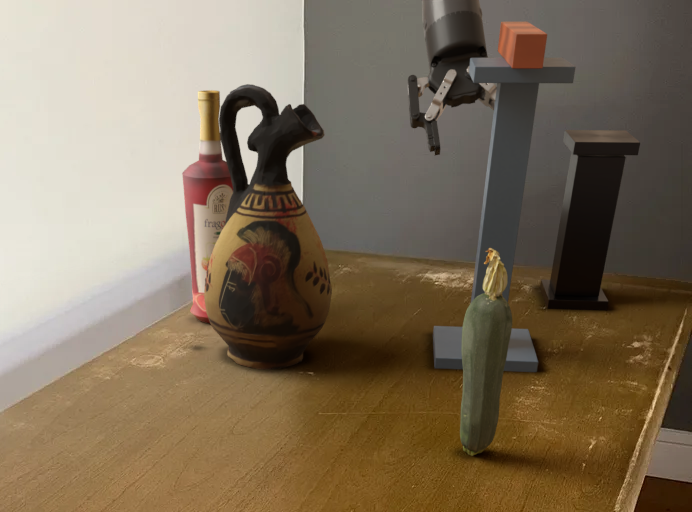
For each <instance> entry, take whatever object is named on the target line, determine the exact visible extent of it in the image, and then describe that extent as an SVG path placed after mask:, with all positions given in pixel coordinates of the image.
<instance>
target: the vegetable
mask: <svg viewBox="0 0 692 512" xmlns="http://www.w3.org/2000/svg"><path fill="white" fill-rule="evenodd" d="M485 252H489V253H488V256H487V257H486V262H485V263H484V264H487V263H488V262H489V261H490V263H489V265H488V268H487V270H486V275H485V278H484V281H483V290H484V292H485V293H483V294H481V295H479V296H477V297H476V298H475V299H474V300H473V301H472V302H471V301H470V304H469V305H468V306H467V309H466V311H465V314H464V318H463V321H462V327H463V328H462V349H461V353H462V364H463V369H462V372H463V373H462V395H461V404H460V422H459V423H460V425H459V438H460V443H461V445H462V450H463V452H464V453H467V455H469V456H470V457H474V456H475V455H477V454H482V453H483V452H484V451H485V450H486V449H487V448H488V447H489V446H490V445H491V444H492V442H493V440H494V438H495V435H496V431H497V427H498V423H499V417H500V404H501V403H500V402H501V401H500V400H501V391H502V383H503V376H504V372H505V371H504V366H505V362H506V358H507V352H508V345H509V341H510V336H511V330H512V329H513V314H512V309H511V307H510V304H509V301H508V302H507V301H506V300H505V299H504V298H503V296H502V292H503V291H504V290H505V288H506V286H507V272H506V269H505V268H504V264H503V263H502V262H501V261H500V257H499V255H500V254H499V253H498V252H497V251H496V250H494V249H492V248H489V249H488V251H485ZM489 258H490V260H489Z"/></svg>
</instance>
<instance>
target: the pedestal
mask: <svg viewBox="0 0 692 512" xmlns="http://www.w3.org/2000/svg"><path fill="white" fill-rule="evenodd" d="M563 133H564V134H563V139H562V142H563V144H565V146H566V147H567V149H568V150H569V151H570V157H569V164H568V172H567V177H566V182H565V187H564V196H563V200H562V207H561V212H560V219H559V223H558V224H559V225H558V231H557V237H556V243H555V249H554V256H553V260H552V261H553V262H552V267H551V273H550V279H543V278H542V279H540V282H539V283H540V285H539V290H540V293H541V296H542V298H543V301H544V304H545V307H546V309H548V310H570V311H572V310H573V311H603V312H604V311H605V312H607V311H608V306H609V300H608V298H607V296H606V294H605V292H604V291H603V289H602V282H603V276H604V272H605V266H606V261H607V256H608V251H609V246H610V240H611V237H612V230H613V225H614V220H615V216H616V210H617V204H618V198H619V196H620V195H619V194H620V189H621V184H622V180H623V174H624V170H625V165H626V164H625V163H626V158H627V157H626V156H638V155H639V153H640V152H639V151H640V146H641V142H640V141H639V140H638V139H637V138H635V137H634V136H633V135H632V134H631V133H629V132H628V130H625V129H624V130H623V129H621V130H617V129H615V130H613V129H612V130H611V129H565V130H564V132H563Z"/></svg>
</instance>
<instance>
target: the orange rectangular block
mask: <svg viewBox="0 0 692 512" xmlns="http://www.w3.org/2000/svg"><path fill="white" fill-rule="evenodd" d="M547 40H548V33H546V32H544V31H543V30H541V29H540V28H538V27H537V26H535V25H534V24H532V23H530V22H529V21H501V22H500V28H499V35H498V44H497V52H498V54H499V55H500V56H501V58H504V59H505V60H506V62H507V63H508V64H509V65H510V66H511V68H513V69H542V68H543V62H544V58H545V55H546V49H547V48H546V47H547Z"/></svg>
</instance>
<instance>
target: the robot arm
mask: <svg viewBox="0 0 692 512" xmlns="http://www.w3.org/2000/svg"><path fill="white" fill-rule="evenodd" d="M421 9H422V10H421V15H422V16H421V18H422V27H423V28H422V29H423V34H424V35H423V36H424V41H425V47H426V55H427V62H428V70H429V73H428V76H423V77H417V75H415V74H410V75H409V76H408V78H407V101H408V102H407V103H408V112H409V113H408V114H409V126H410V128H411V129H418V128H423V129H424V131H425V135H426V141H427V149H428V151H429V152H430V153H432V152H433V155H434V156H439V155H441V142H440V135H439V125H438V119H439V118H440V117H441V116H442V114H443V112H444V111H445V109H446V108H447V106H450V107H451V108H457V107H460V106H461V105H466V104H467V105H471V104H476V101H479V102H480V103H482V104H483V105H484V106H485V107H486V108H487V107H488V108H490V109H491V110H492V111H494V106H495V98H496V89H497V84H496V83H473V81H472V78H471V76H470V74H469V66H470V58H489V55H488V50H487V43H486V37H485V29H484V22H483V10H482V8H481V2H480V0H421ZM426 88H428V90H429V91H430V92H431V93H433V94H434V96H433V98H432V101H431V103H430V105H429V107H428V109H427V110H426V112H421V111H420V100H419V99H420V97H422V96H423V95H424V91H425V89H426Z"/></svg>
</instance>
